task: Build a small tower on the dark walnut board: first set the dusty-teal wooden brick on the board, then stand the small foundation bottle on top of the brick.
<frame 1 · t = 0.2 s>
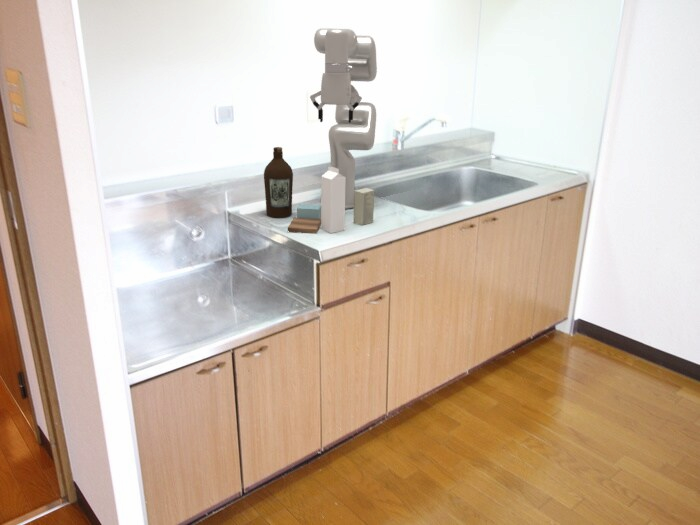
hand: (335, 121, 210), 36 cm above the counter, tool pointing down, fingers open, 9 cm apart
board: (304, 227, 217), on the counter
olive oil: (279, 215, 231), on the counter
brick: (309, 219, 226), on the counter
milk: (332, 230, 215), on the counter
skincare box: (363, 223, 224), on the counter
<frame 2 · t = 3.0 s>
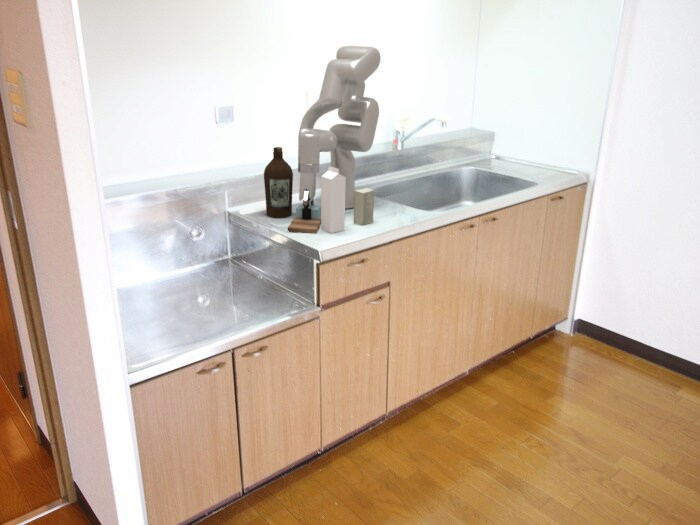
hand: (308, 216, 224), 2 cm above the counter, tool pointing down, fingers open, 6 cm apart
brick: (308, 220, 225), on the counter, touching board, gripper
everything else where it was.
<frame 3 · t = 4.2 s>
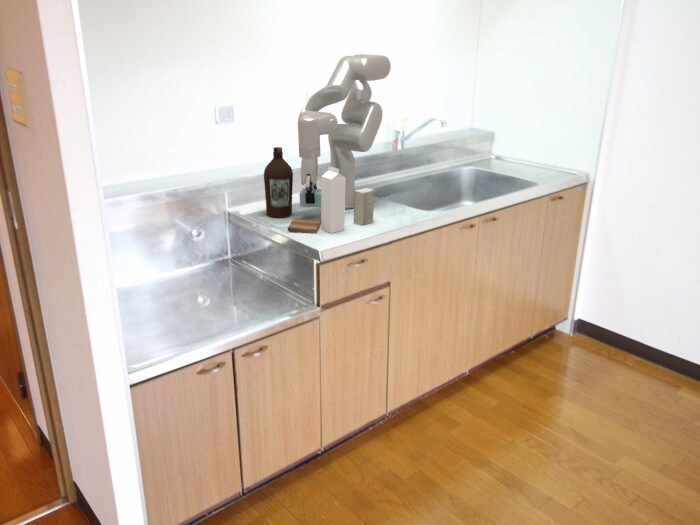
hand: (311, 199, 225), 7 cm above the counter, tool pointing down, fingers closed on brick, 6 cm apart
brick: (312, 204, 225), point 5 cm above the counter, touching gripper
everything else where it was.
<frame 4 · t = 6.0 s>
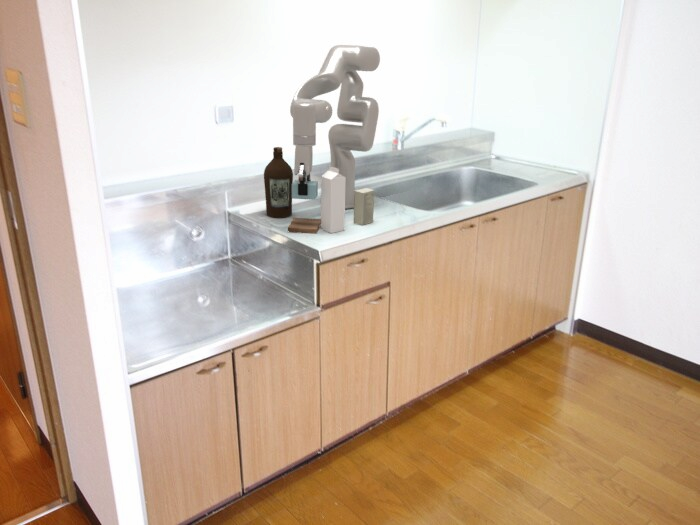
hand: (304, 192, 212), 13 cm above the counter, tool pointing down, fingers closed on brick, 6 cm apart
brick: (304, 197, 213), point 11 cm above the counter, touching gripper
everything else where it was.
when the fingers open (3 cm above the counter, at t = 8.1 s): brick stays where it is, resting on board.
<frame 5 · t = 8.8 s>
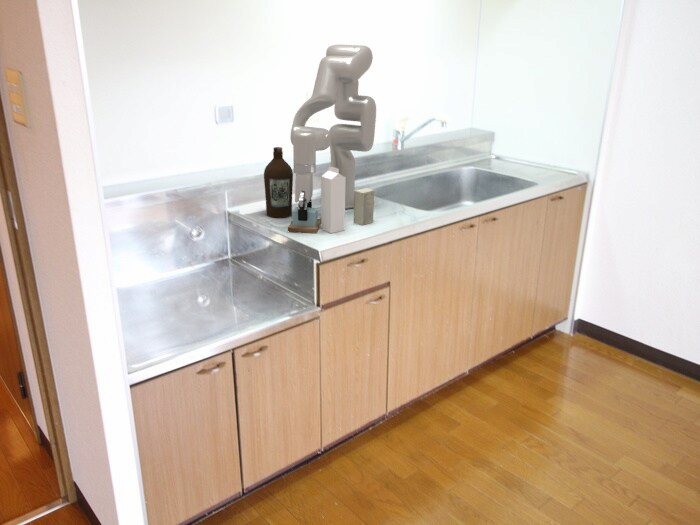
hand: (305, 216, 215), 4 cm above the counter, tool pointing down, fingers open, 9 cm apart
brick: (305, 223, 216), point 1 cm above the counter, touching board
everything else where it was.
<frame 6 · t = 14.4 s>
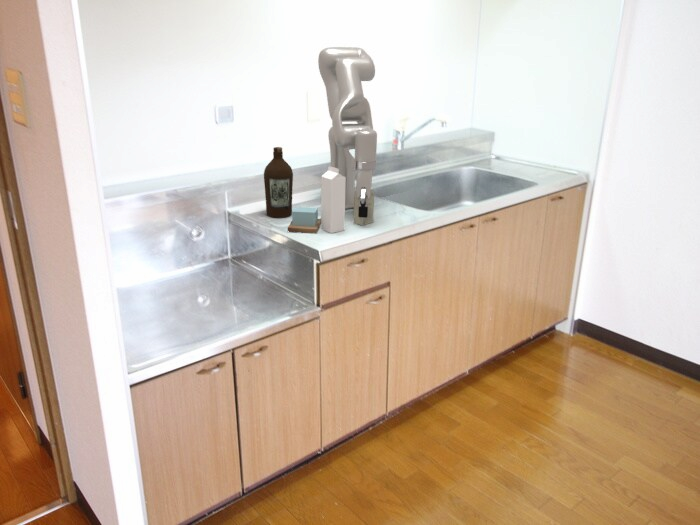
hand: (363, 213, 222), 3 cm above the counter, tool pointing down, fingers closed on skincare box, 7 cm apart
skincare box: (363, 223, 224), on the counter, touching gripper
everything else where it was.
when the fingers open (11 cm above the counter, at t = 22.6 s): skincare box stays where it is, resting on brick.
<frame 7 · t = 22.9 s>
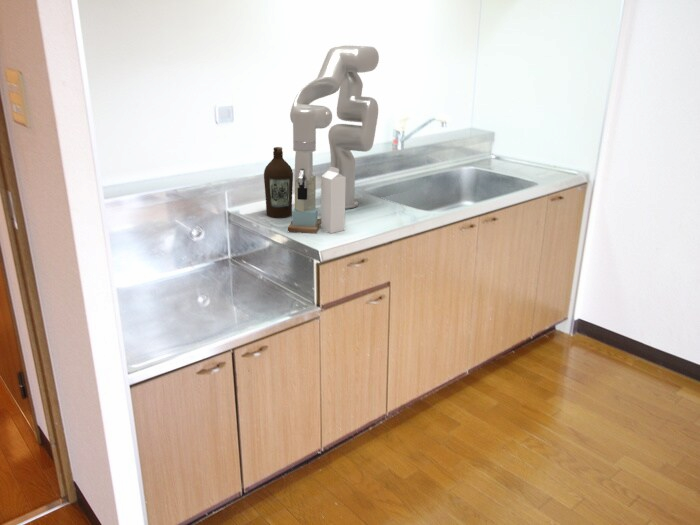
hand: (304, 195, 213), 11 cm above the counter, tool pointing down, fingers open, 9 cm apart
brick: (305, 223, 216), point 1 cm above the counter, touching board, skincare box
skincare box: (305, 210, 214), point 6 cm above the counter, touching brick
everything else where it was.
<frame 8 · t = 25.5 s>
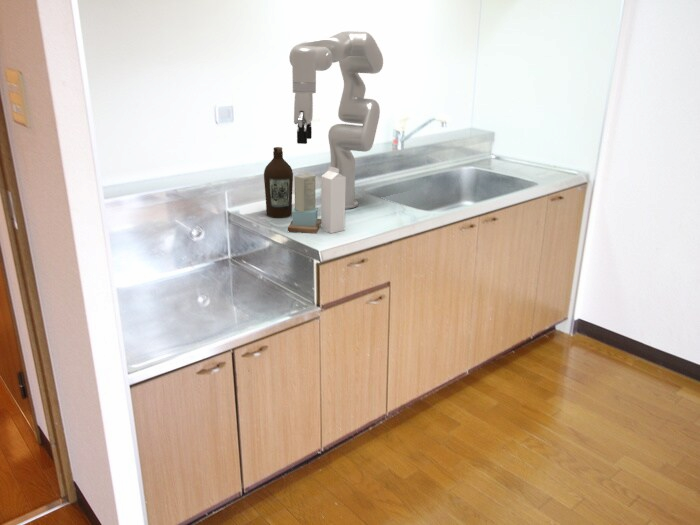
hand: (304, 140, 206), 30 cm above the counter, tool pointing down, fingers open, 9 cm apart
nothing on the counter moved.
at the end: brick inside the target area on the board (0.1 cm from its centre), point 1.5 cm above the board's base; skincare box inside the target area on the brick (0.0 cm from its centre), point 4.8 cm above the brick's base; skincare box tilted 0° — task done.
